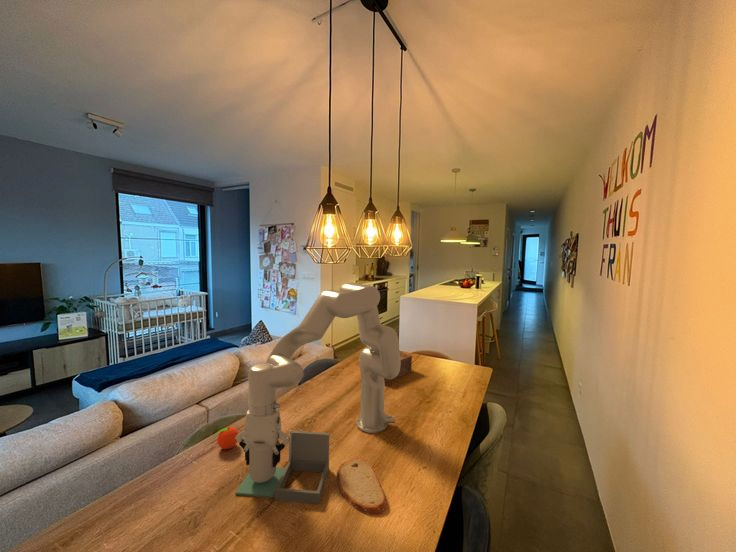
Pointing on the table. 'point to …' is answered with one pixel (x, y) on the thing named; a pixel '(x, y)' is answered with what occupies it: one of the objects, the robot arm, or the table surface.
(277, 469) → the mat
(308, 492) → the grey open box
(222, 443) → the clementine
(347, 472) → the slice of bread
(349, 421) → the table surface
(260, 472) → the can
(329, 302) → the robot arm
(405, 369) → the tissue box cover
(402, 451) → the table surface
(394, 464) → the table surface
